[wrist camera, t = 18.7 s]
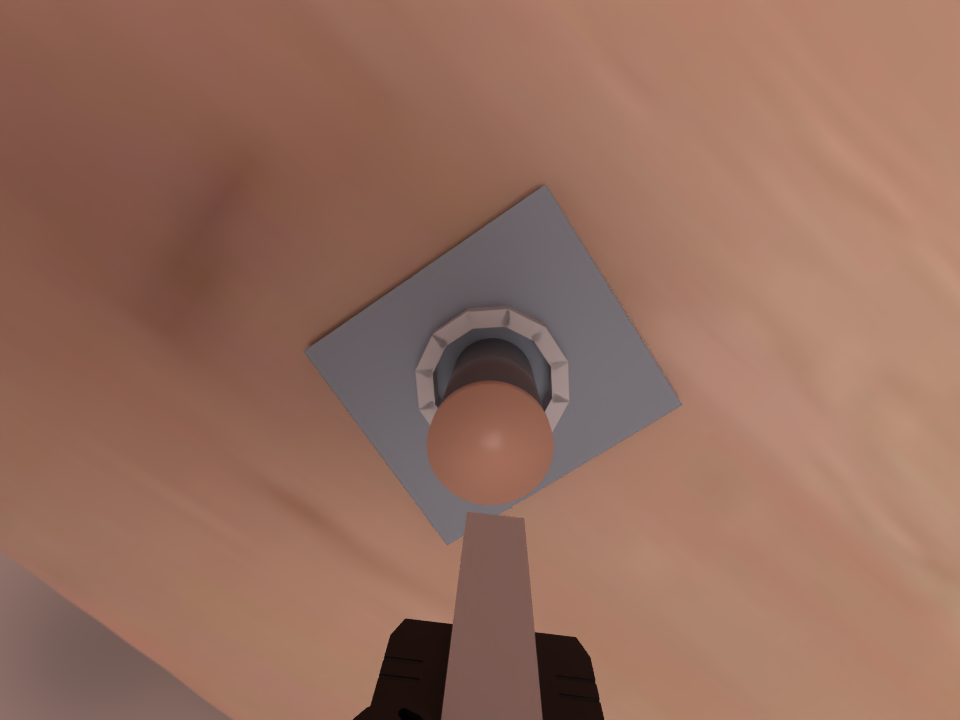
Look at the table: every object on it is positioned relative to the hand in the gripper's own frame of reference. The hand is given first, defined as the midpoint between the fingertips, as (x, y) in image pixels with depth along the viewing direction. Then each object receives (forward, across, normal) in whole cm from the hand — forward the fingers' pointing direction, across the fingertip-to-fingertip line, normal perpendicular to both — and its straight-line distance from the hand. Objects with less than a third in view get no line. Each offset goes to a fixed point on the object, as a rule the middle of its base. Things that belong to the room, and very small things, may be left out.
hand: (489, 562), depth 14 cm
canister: (+20, 0, 0) cm, 20 cm away
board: (+21, 0, 0) cm, 21 cm away
